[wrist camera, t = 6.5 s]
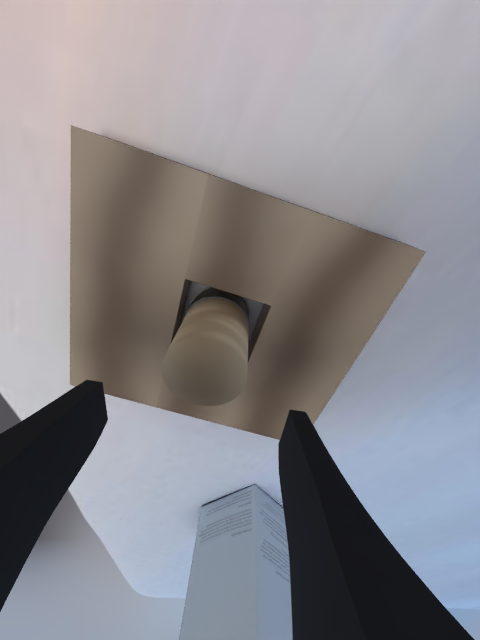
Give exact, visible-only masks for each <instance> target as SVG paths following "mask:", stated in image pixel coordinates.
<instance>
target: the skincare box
mask: <svg viewBox="0 0 480 640" xmlns="http://www.w3.org/2000/svg"><path fill="white" fill-rule="evenodd" d="M179 640H293V635H292V607H291V584H290V563H289V551H288V541H287V533H286V525H285V517H284V509H283V508H282V507H281V506H280V505H279V504H278V503H276V502H275V501H274V500H273V499H272V498H271V497H270V496H268V495H267V494H266V493H265V492H264V491H263V490H261V489H260V488H259V487H258V486H257V485H256V484H254V485H252V486H250V487H248V488H245V489H243V490H241V491H238V492H236V493H233V494H231V495H229V496H226V497H224V498H222V499H219V500H217V501H215V502H212V503H210V504H207V505H205V506H203V507H201V510H200V516H199V522H198V528H197V534H196V541H195V547H194V553H193V559H192V565H191V571H190V577H189V583H188V589H187V595H186V601H185V607H184V613H183V619H182V624H181V631H180V636H179Z"/></svg>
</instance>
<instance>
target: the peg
mask: <svg viewBox="0 0 480 640" xmlns="http://www.w3.org/2000/svg"><path fill="white" fill-rule="evenodd" d="M249 334H250V322H249V312H248V308H247V306H246V304H245V302H244V301H243V300H242V299H241V298H240V296H238V295H235V294H232V293H229V292H226V291H222V290H219V289H216V288H213V289H210V290H206V291H204V292H202V293H201V294H199V295H198V296H197V297H196V298H195V299H194V301H193V302H192V304H191V306H190V307H189V308H188V309H187V311H186V313H185V315H184V318H183V322H182V324H181V326H180V327H179V329H178V331H177V333H176V335H175V337H174V339H173V341H172V343H171V345H170V347H169V349H168V351H167V353H166V355H165V357H164V359H163V362H162V368H161V370H162V376H163V379H164V382H165V383H166V385H167V387H168V388H169V389H170V390H171V391H172V392H173V393H174V394H175V395H176V396H177V397H179V398H180V399H182V400H184V401H186V402H189V403H191V404H195V405H199V406H218V405H222V404H225V403H228V402H230V401H232V400H233V399H235V398H236V397H237V396H239V395H240V393H241V392H242V391H243V389H244V387H245V385H246V382H247V371H248V338H249Z"/></svg>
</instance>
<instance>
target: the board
mask: <svg viewBox="0 0 480 640" xmlns="http://www.w3.org/2000/svg"><path fill="white" fill-rule="evenodd" d="M425 253H426V252H425V251H423V250H420V249H417V248H415V247H412V246H409V245H407V244H404V243H401V242H399V241H396V240H393V239H390V238H387V237H385V236H382V235H379V234H376V233H373V232H371V231H368V230H365V229H362V228H359V227H357V226H354V225H351V224H348V223H345V222H343V221H340V220H337V219H334V218H331V217H329V216H326V215H323V214H320V213H317V212H315V211H312V210H309V209H306V208H303V207H300V206H298V205H295V204H292V203H289V202H286V201H284V200H281V199H278V198H275V197H272V196H270V195H267V194H264V193H261V192H258V191H256V190H253V189H250V188H247V187H244V186H242V185H239V184H236V183H233V182H230V181H228V180H225V179H222V178H219V177H216V176H214V175H211V174H208V173H205V172H202V171H200V170H197V169H194V168H191V167H188V166H185V165H183V164H180V163H177V162H174V161H171V160H169V159H166V158H163V157H160V156H157V155H155V154H152V153H149V152H146V151H143V150H141V149H138V148H135V147H132V146H129V145H127V144H124V143H121V142H118V141H115V140H113V139H110V138H107V137H104V136H101V135H98V134H95V133H92V132H89V131H86V130H83V129H80V128H77V127H74V126H71V258H70V385H74V386H77V385H79V384H81V383H82V382H84V381H85V380H92V381H99V382H103V389H104V394H108V395H112V396H115V397H119V398H123V399H127V400H131V401H134V402H138V403H142V404H146V405H150V406H153V407H157V408H161V409H165V410H169V411H172V412H176V413H180V414H184V415H187V416H191V417H195V418H199V419H203V420H206V421H210V422H214V423H218V424H222V425H225V426H229V427H233V428H237V429H241V430H244V431H248V432H252V433H256V434H260V435H263V436H267V437H271V438H275V439H279V440H280V438H281V435H282V432H283V429H284V426H285V423H286V420H287V416H288V413H289V410H297V411H304V412H306V413H307V415H308V416H309V418H310V420H311V422H312V424H314V423H315V421H316V420H317V418H318V416H319V415H320V413H321V412H322V410H323V409H324V407H325V406H326V404H327V403H328V401H329V400H330V398H331V397H332V395H333V393H334V392H335V390H336V389H337V387H338V386H339V384H340V383H341V381H342V380H343V378H344V377H345V375H346V374H347V372H348V371H349V369H350V367H351V366H352V364H353V363H354V361H355V360H356V358H357V357H358V355H359V354H360V352H361V351H362V349H363V348H364V346H365V344H366V343H367V341H368V340H369V338H370V337H371V335H372V334H373V332H374V331H375V329H376V328H377V326H378V325H379V323H380V322H381V320H382V318H383V317H384V315H385V314H386V312H387V311H388V309H389V308H390V306H391V305H392V303H393V302H394V300H395V299H396V297H397V295H398V294H399V292H400V291H401V289H402V288H403V286H404V285H405V283H406V282H407V280H408V279H409V277H410V276H411V274H412V273H413V271H414V269H415V268H416V266H417V265H418V263H419V262H420V260H421V259H422V257H423V256H424V254H425ZM191 281H194V282H197V283H200V284H203V285H207V286H210V287H213V288H216V289H219V290H222V291H226V292H229V293H232V294H235V295H238V296H242V297H245V298H248V299H251V300H254V301H257V302H261V303H264V305H263V308H262V311H261V313H260V316H259V318H258V321H257V323H256V326H255V328H254V331H253V333H252V336H251V338H250V341H249V343H248V371H247V382H246V385H245V387H244V389H243V391H242V392H241V393H240V395H239V396H237V397H236V398H235V399H233V400H232V401H230V402H228V403H225V404H222V405H218V406H199V405H195V404H191V403H189V402H186V401H184V400H182V399H180V398H179V397H177V396H176V395H175V394H174V393H173V392H172V391H171V390H170V389H169V388H168V387H167V385H166V383H165V382H164V379H163V376H162V370H161V368H162V362H163V359H164V357H165V355H166V353H167V351H168V349H169V347H170V345H171V343H172V341H173V339H174V337H175V335H176V333H177V331H178V329H179V327H180V325H181V321H182V317H183V312H184V308H185V304H186V300H187V296H188V291H189V287H190V283H191Z"/></svg>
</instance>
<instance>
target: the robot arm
mask: <svg viewBox="0 0 480 640" xmlns="http://www.w3.org/2000/svg"><path fill="white" fill-rule="evenodd" d="M107 421H108V417H107V410H106V403H105V396H104V389H103V382H99V381H92V380H85V381H84V382H82V383H81V384H79V385H77V386H76V387H74V388H73V389H71V390H70V391H68V392H67V393H65V394H64V395H62V396H61V397H59V398H58V399H56V400H54V401H53V402H51V403H50V404H48V405H47V406H45V407H44V408H42V409H40V410H39V411H37V412H36V413H34V414H33V415H31V416H29V417H28V418H26V419H25V420H23V421H22V422H20V423H18V424H17V425H15V426H13V427H12V428H10V429H8V430H6V431H5V432H3V433H1V434H0V611H1V609H2V607H3V605H4V603H5V601H6V599H7V597H8V595H9V593H10V591H11V589H12V587H13V585H14V583H15V581H16V579H17V578H18V576H19V574H20V572H21V570H22V568H23V565H24V564H25V562H26V560H27V558H28V556H29V554H30V553H31V551H32V549H33V547H34V545H35V543H36V541H37V540H38V538H39V536H40V534H41V532H42V530H43V528H44V526H45V525H46V523H47V521H48V520H49V518H50V516H51V515H52V513H53V511H54V510H55V508H56V507H57V505H58V503H59V502H60V500H61V499H62V497H63V496H64V494H65V493H66V491H67V490H68V488H69V486H70V485H71V483H72V482H73V480H74V479H75V477H76V476H77V474H78V472H79V471H80V469H81V468H82V466H83V465H84V463H85V461H86V460H87V458H88V457H89V455H90V453H91V452H92V450H93V449H94V447H95V445H96V443H97V441H98V439H99V437H100V435H101V433H102V431H103V429H104V427H105V425H106V423H107ZM279 476H280V485H281V493H282V501H283V509H284V517H285V525H286V533H287V541H288V551H289V563H290V584H291V607H292V635H293V640H474V639H473V638H472V637H471V636H470V635H469V634H468V632H467V631H466V630H465V629H464V628H463V627H462V626H461V625H460V624H459V622H458V621H457V620H456V619H455V618H454V617H453V616H452V615H451V614H450V613H449V611H448V610H447V609H446V608H445V607H444V606H443V605H442V604H441V603H440V601H439V600H438V599H437V598H436V597H435V596H434V594H433V593H432V592H431V591H430V590H429V588H428V587H427V586H426V585H425V584H424V583H423V581H422V580H421V579H420V578H419V577H418V576H417V574H416V573H415V572H414V571H413V570H412V569H411V567H410V566H409V565H408V564H407V563H406V561H405V560H404V559H403V558H402V557H401V555H400V554H399V553H398V552H397V550H396V549H395V548H394V547H393V545H392V544H391V543H390V541H389V540H388V539H387V538H386V536H385V535H384V534H383V532H382V531H381V530H380V528H379V527H378V526H377V524H376V523H375V522H374V520H373V519H372V518H371V516H370V515H369V514H368V512H367V511H366V509H365V508H364V507H363V505H362V504H361V502H360V501H359V499H358V498H357V496H356V495H355V494H354V492H353V491H352V489H351V488H350V486H349V485H348V483H347V482H346V480H345V478H344V477H343V475H342V474H341V472H340V470H339V469H338V467H337V466H336V464H335V462H334V461H333V459H332V457H331V456H330V454H329V452H328V451H327V449H326V447H325V446H324V444H323V442H322V440H321V438H320V437H319V435H318V433H317V431H316V429H315V428H314V426H313V424H312V422H311V420H310V418H309V416H308V415H307V413H306V412H304V411H297V410H289V413H288V416H287V420H286V423H285V426H284V429H283V432H282V435H281V438H280V441H279Z"/></svg>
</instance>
